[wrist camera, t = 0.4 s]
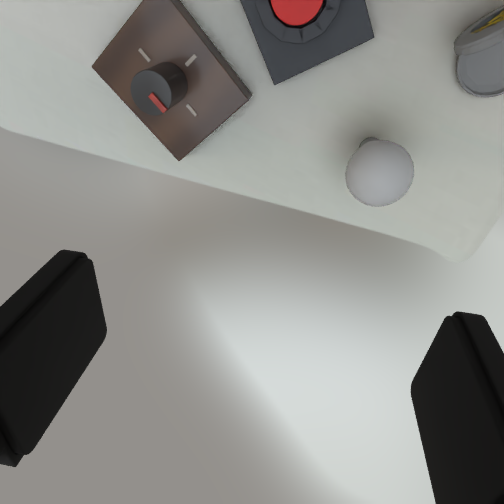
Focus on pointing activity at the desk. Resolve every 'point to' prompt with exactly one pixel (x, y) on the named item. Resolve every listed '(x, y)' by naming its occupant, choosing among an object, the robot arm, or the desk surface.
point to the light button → (296, 10)
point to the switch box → (307, 35)
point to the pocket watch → (482, 56)
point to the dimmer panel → (187, 59)
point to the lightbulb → (379, 172)
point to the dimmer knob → (158, 88)
